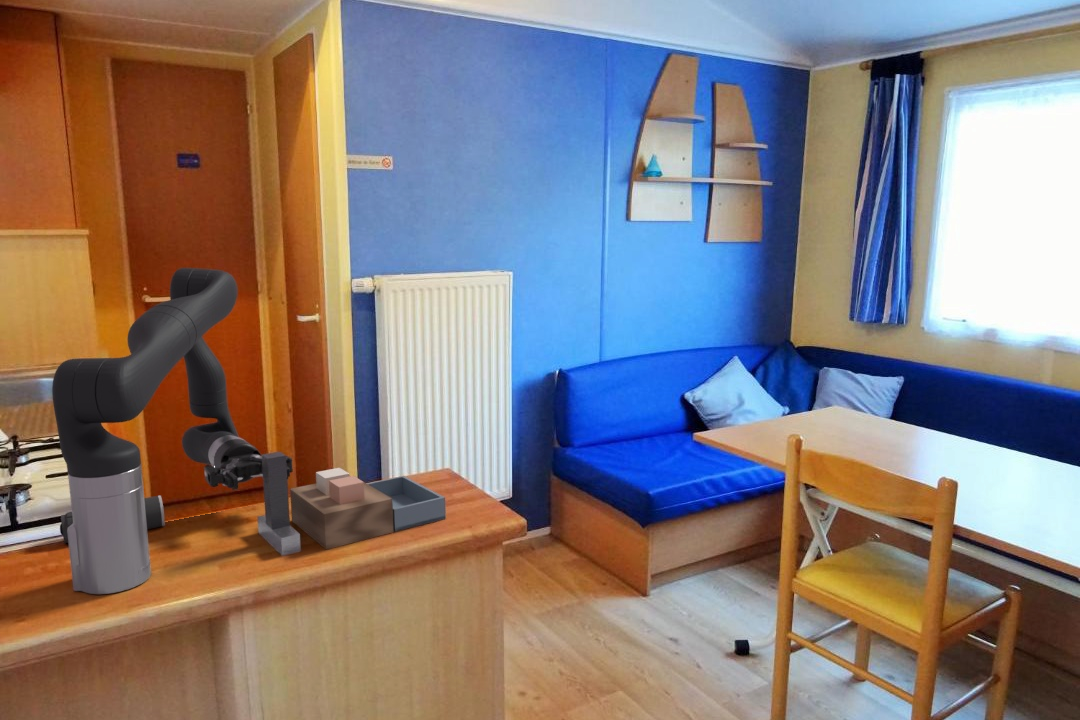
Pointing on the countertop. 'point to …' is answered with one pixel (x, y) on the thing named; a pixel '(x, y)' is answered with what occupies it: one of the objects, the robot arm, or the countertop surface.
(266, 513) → the dark grey tall part
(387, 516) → the marbled brown box
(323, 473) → the white block
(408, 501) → the box
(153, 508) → the flashlight
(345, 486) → the pink block
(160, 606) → the countertop surface
